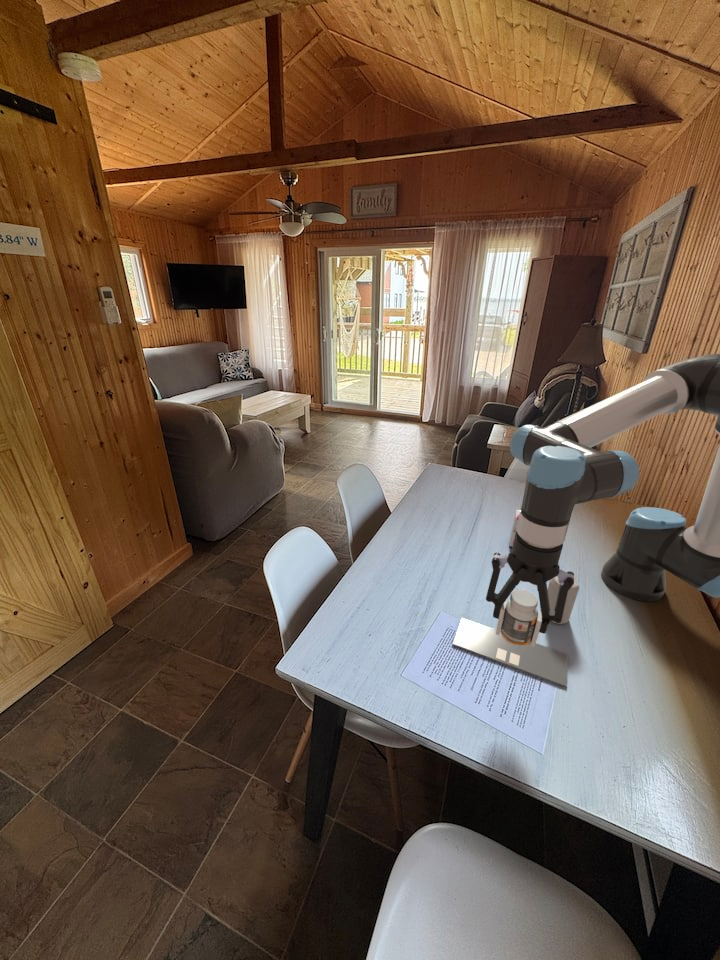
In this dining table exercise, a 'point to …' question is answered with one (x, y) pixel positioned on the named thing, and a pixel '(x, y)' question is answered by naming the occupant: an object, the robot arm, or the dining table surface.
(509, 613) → the pill bottle
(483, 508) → the dining table surface
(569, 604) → the beverage can
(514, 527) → the supplement box
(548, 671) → the slate board
